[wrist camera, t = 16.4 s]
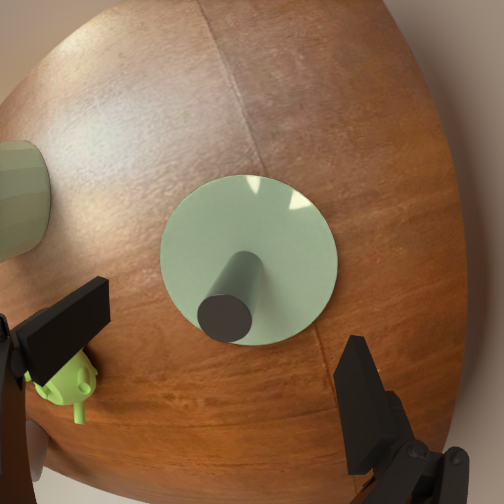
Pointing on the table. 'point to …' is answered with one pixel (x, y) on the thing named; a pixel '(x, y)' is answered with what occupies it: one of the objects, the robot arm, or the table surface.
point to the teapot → (71, 385)
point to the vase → (36, 448)
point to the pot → (22, 198)
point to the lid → (248, 260)
